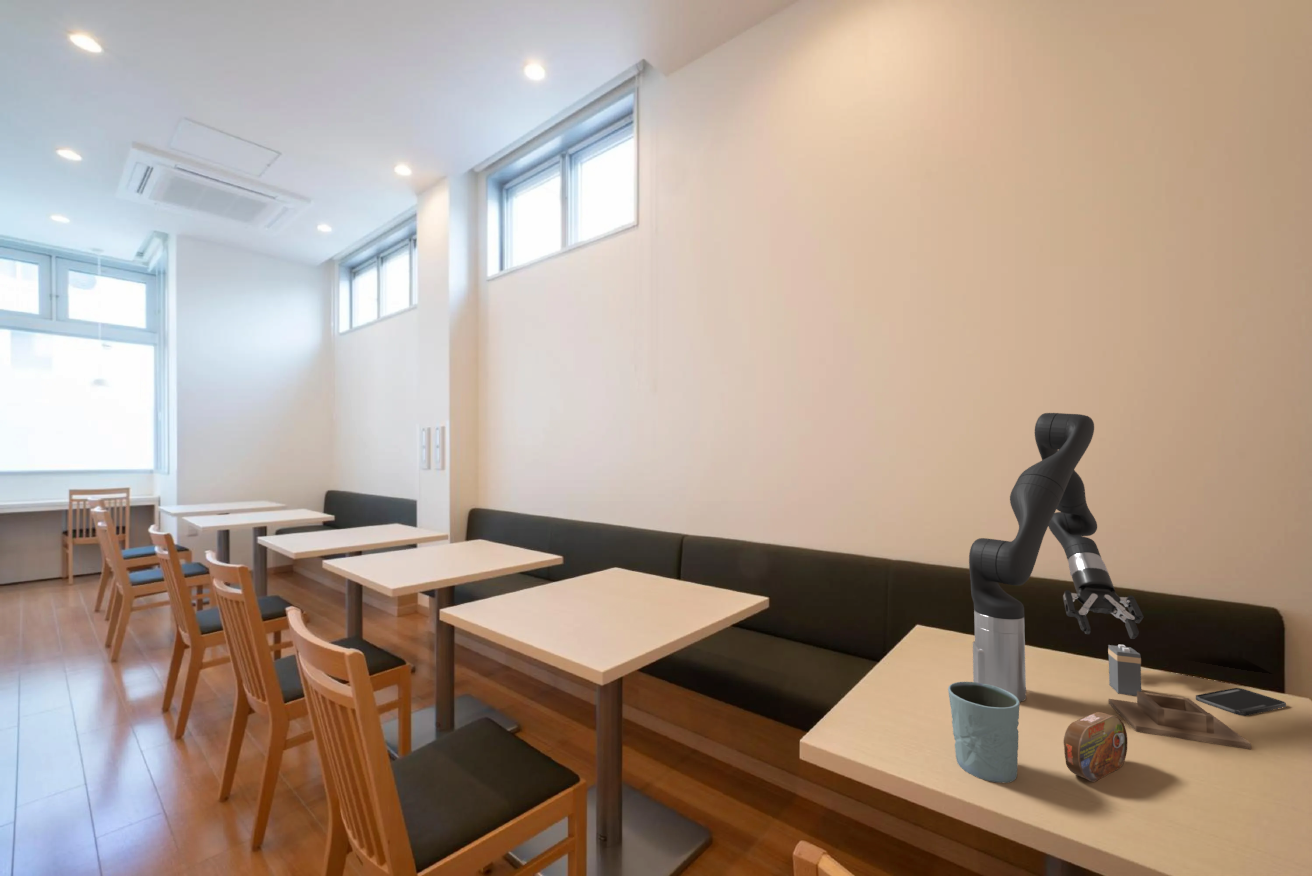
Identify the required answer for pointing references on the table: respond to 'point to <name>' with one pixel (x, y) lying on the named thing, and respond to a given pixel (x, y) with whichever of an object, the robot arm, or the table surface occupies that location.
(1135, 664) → the cell
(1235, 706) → the phone
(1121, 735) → the tin
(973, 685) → the teal embossed cup
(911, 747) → the table surface
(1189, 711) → the dock
